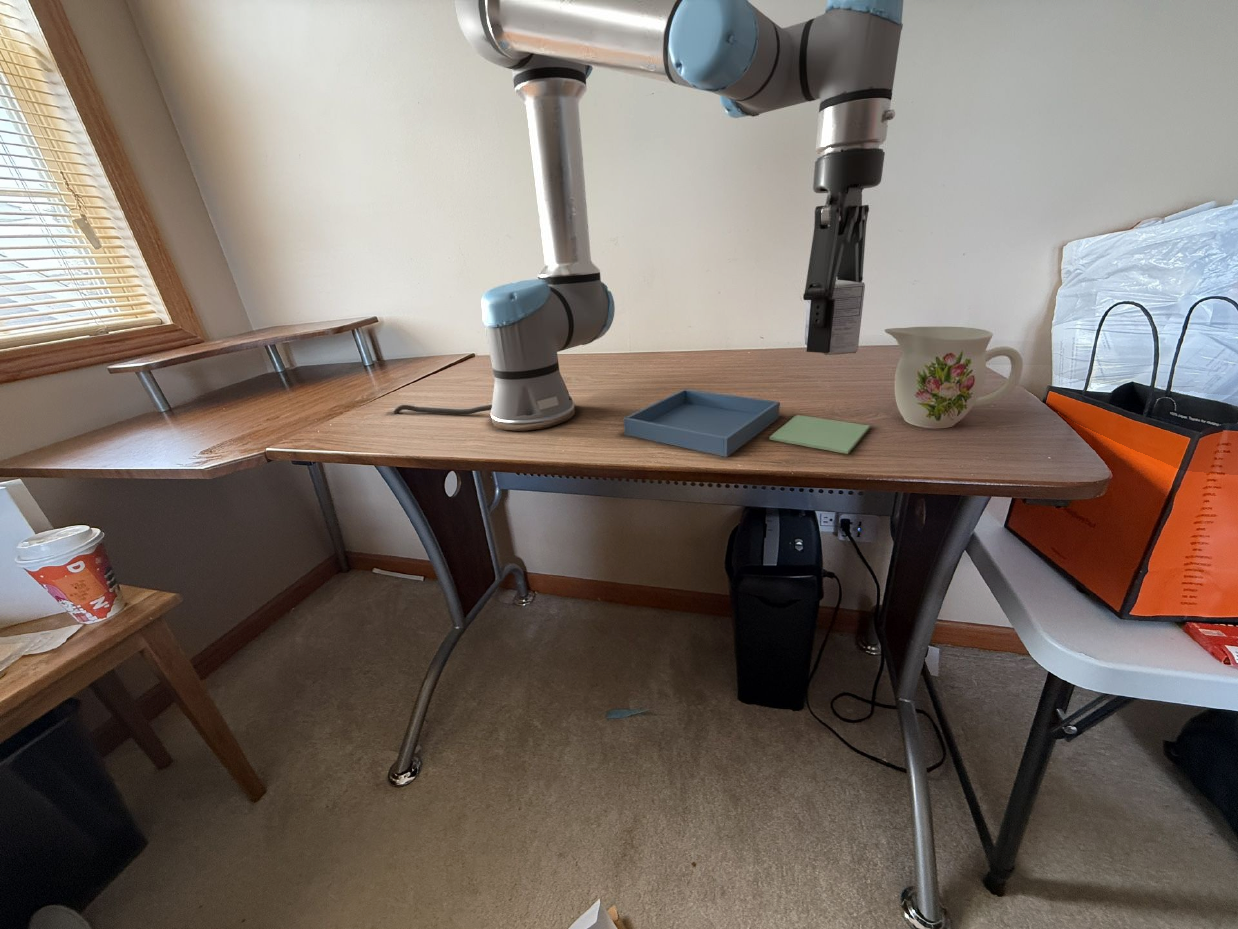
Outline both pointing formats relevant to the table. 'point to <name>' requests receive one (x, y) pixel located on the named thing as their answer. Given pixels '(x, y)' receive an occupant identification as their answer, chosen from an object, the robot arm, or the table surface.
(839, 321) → the medicine box
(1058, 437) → the table surface
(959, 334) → the pitcher
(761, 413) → the tray
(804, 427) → the mat
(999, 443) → the table surface
